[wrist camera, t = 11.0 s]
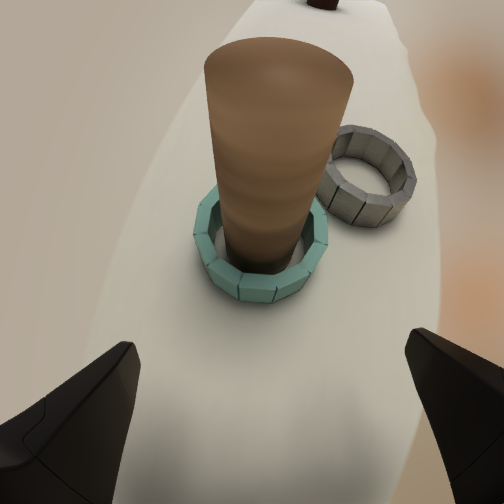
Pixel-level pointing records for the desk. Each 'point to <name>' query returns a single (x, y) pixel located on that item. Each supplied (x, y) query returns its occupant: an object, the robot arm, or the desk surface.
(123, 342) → the robot arm
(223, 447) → the desk surface
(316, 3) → the coffee mug
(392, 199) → the stand collar
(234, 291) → the teal collar socket
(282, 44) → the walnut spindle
